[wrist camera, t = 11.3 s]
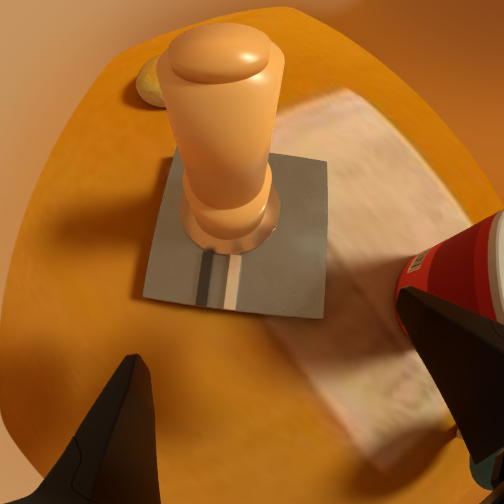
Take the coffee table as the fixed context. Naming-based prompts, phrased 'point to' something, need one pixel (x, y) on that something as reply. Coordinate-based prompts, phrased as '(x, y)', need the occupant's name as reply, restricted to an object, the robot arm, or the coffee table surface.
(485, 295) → the canned food
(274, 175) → the plate
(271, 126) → the tapered peach knob
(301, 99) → the coffee table surface
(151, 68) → the bread roll
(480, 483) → the light bulb
